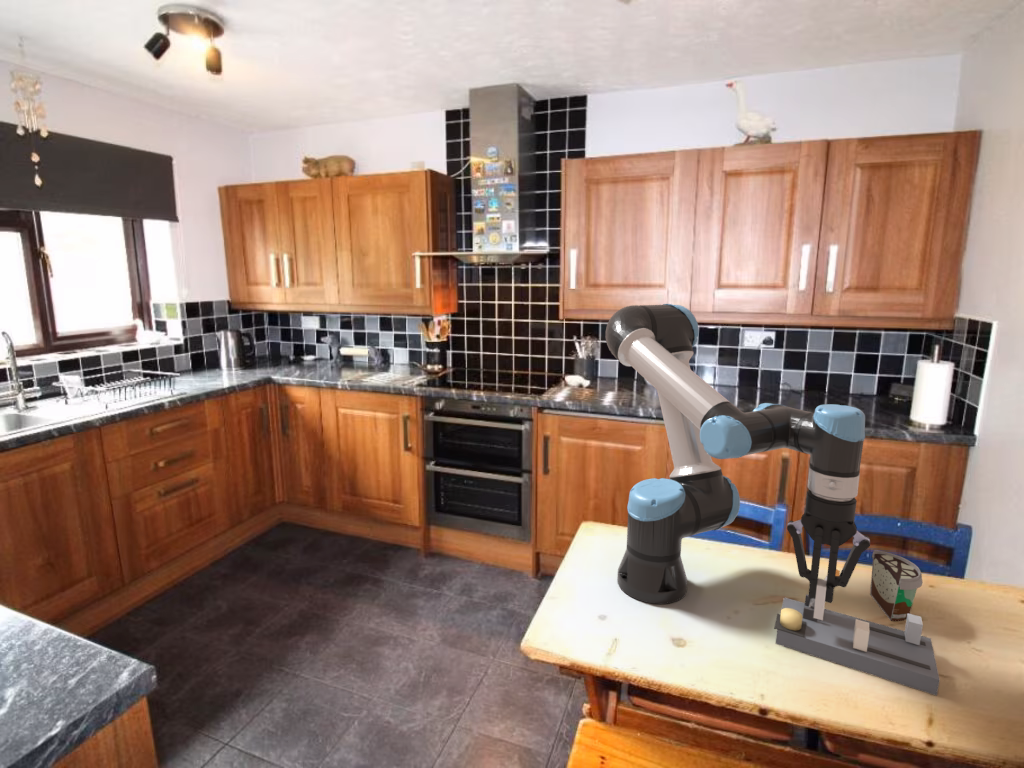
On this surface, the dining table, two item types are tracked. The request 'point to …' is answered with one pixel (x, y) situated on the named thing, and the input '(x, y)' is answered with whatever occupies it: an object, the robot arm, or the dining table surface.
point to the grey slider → (913, 629)
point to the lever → (812, 601)
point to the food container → (894, 584)
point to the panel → (883, 652)
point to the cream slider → (861, 635)
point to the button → (791, 619)
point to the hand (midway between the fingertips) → (818, 615)
